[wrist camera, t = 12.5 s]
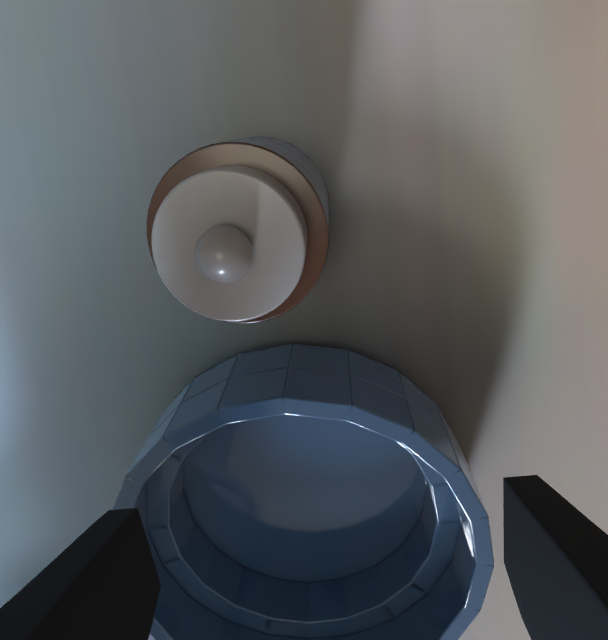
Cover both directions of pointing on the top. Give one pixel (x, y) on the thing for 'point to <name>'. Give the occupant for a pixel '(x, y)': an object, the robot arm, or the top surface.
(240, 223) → the pepper mill
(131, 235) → the top surface
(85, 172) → the top surface
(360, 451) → the bowl
